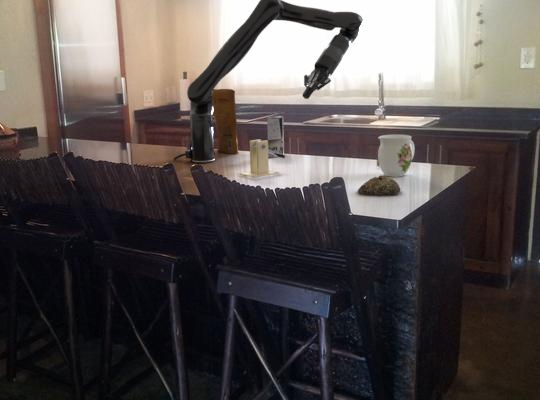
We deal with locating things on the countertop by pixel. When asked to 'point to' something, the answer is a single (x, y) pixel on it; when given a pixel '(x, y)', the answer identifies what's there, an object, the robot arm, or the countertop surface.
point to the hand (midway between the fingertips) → (305, 97)
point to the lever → (271, 152)
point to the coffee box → (275, 135)
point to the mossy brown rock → (380, 186)
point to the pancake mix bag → (225, 120)
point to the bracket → (259, 159)
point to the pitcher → (395, 154)
